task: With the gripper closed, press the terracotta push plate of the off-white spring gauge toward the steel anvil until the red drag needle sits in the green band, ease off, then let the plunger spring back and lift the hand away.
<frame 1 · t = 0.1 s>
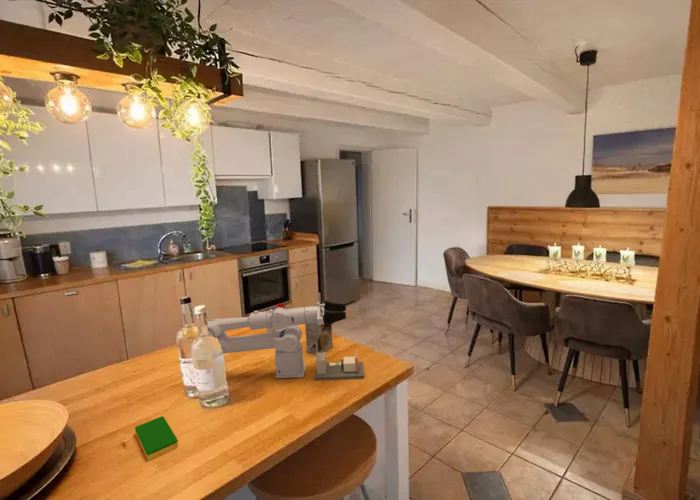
hand: (345, 311, 126), 22 cm above the kitchen island, tool horizontal, fingers open, 7 cm apart
gauge plunger: (349, 360, 129), point 4 cm above the kitchen island, slide at 0.0 cm
coffee box: (319, 349, 148), on the kitchen island
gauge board: (339, 371, 129), on the kitchen island
kitchen timer: (282, 337, 162), on the kitchen island
dish sponge: (156, 442, 97), on the kitchen island
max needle: (347, 361, 133), point 2 cm above the kitchen island, slide at 0.0 cm
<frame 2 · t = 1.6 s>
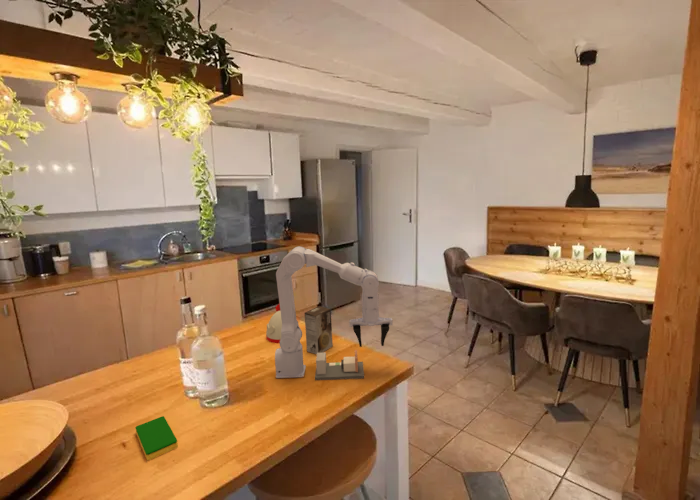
hand: (371, 345, 128), 9 cm above the kitchen island, tool pointing down, fingers open, 7 cm apart
nothing on the kitchen island moved.
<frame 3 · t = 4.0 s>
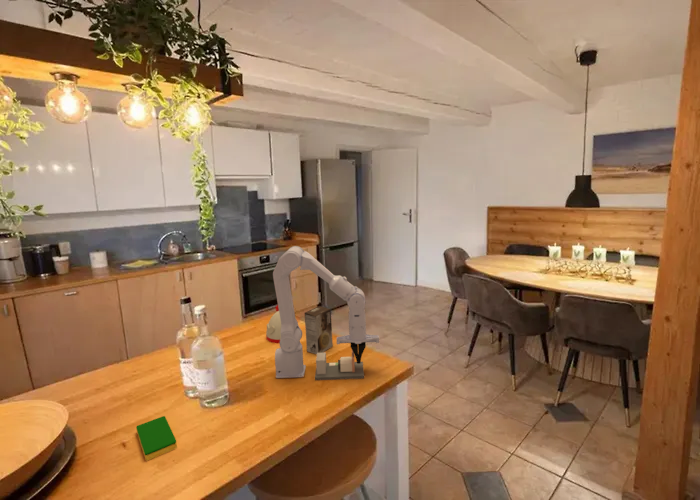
hand: (358, 362, 129), 3 cm above the kitchen island, tool pointing down, fingers closed
gauge plunger: (346, 360, 129), point 4 cm above the kitchen island, slide at 1.1 cm, touching gripper, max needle
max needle: (345, 361, 133), point 2 cm above the kitchen island, slide at 0.8 cm, touching gauge plunger
everything else where it was.
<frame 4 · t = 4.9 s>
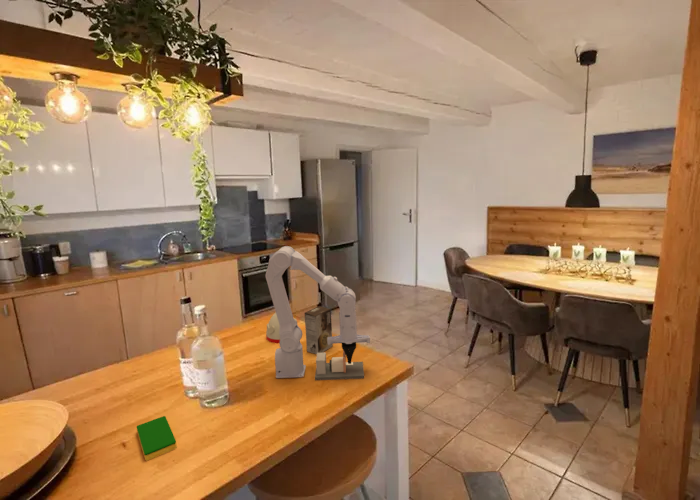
hand: (349, 362, 129), 3 cm above the kitchen island, tool pointing down, fingers closed
gauge plunger: (337, 360, 129), point 4 cm above the kitchen island, slide at 4.1 cm, touching gripper, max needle
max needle: (336, 362, 133), point 2 cm above the kitchen island, slide at 3.8 cm, touching gauge plunger
everything else where it was.
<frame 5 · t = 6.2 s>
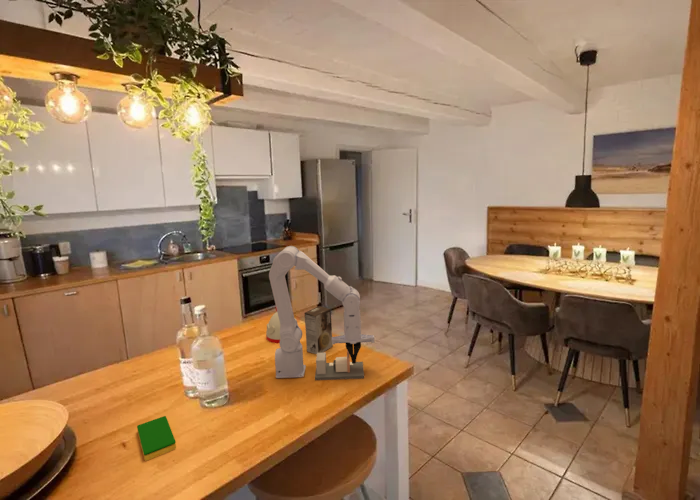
hand: (353, 362, 129), 3 cm above the kitchen island, tool pointing down, fingers closed
gauge plunger: (341, 360, 129), point 4 cm above the kitchen island, slide at 2.7 cm, touching gripper
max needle: (336, 362, 133), point 2 cm above the kitchen island, slide at 3.8 cm
everything else where it was.
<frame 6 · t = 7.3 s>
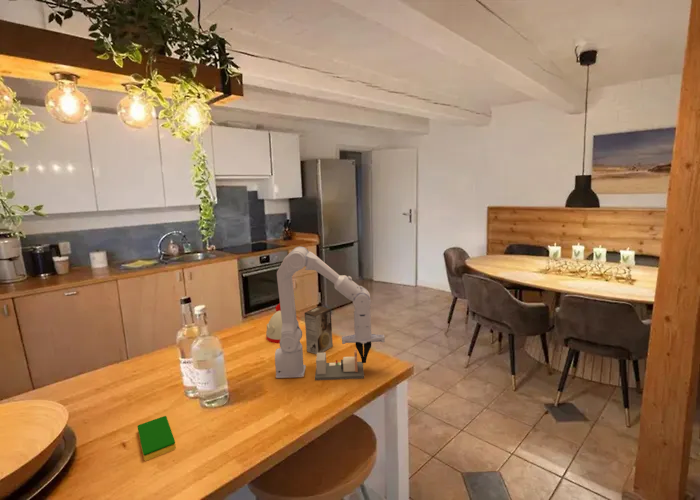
hand: (363, 361, 129), 3 cm above the kitchen island, tool pointing down, fingers closed
gauge plunger: (348, 360, 129), point 4 cm above the kitchen island, slide at 0.1 cm
everything else where it was.
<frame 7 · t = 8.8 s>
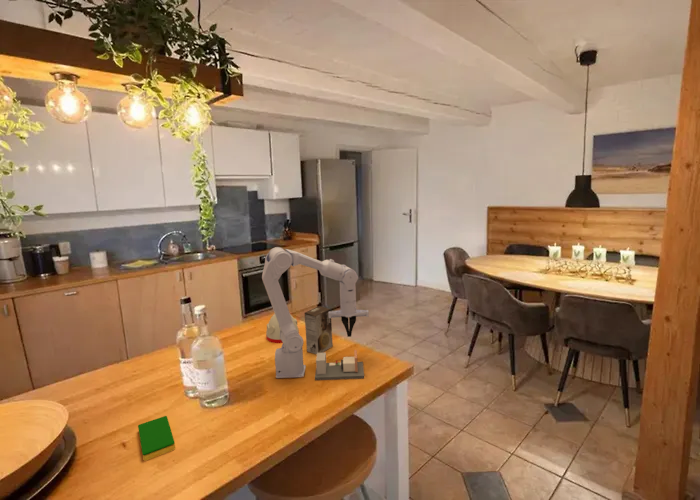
hand: (349, 335, 136), 9 cm above the kitchen island, tool pointing down, fingers closed
nothing on the kitchen island moved.
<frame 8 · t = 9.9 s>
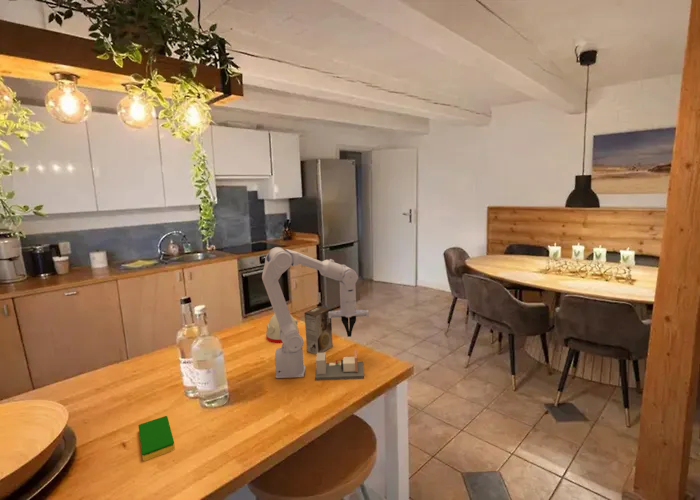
hand: (349, 335, 136), 9 cm above the kitchen island, tool pointing down, fingers closed
nothing on the kitchen island moved.
at the end: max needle slide at 3.8 cm; gauge plunger slide at 0.1 cm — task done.
